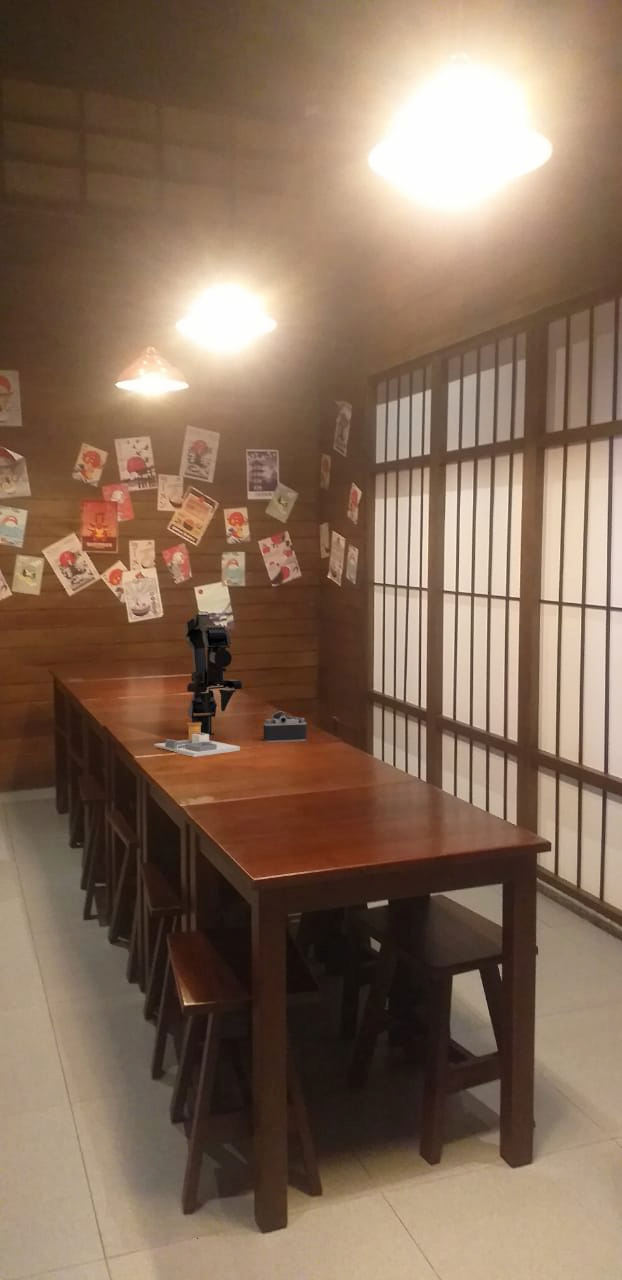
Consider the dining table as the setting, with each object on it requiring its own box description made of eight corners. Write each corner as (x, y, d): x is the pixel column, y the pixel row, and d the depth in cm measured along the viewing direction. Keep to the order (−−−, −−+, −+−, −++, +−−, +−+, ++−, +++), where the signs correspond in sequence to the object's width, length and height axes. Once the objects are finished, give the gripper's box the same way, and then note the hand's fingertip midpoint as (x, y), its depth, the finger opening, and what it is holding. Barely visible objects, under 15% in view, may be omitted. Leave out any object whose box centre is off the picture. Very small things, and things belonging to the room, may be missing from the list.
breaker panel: (199, 741, 330) (199, 731, 330) (239, 750, 314) (239, 739, 314) (154, 747, 318) (154, 736, 318) (194, 757, 302) (194, 745, 302)
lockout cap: (196, 739, 329) (196, 721, 328) (204, 740, 325) (204, 722, 325) (184, 740, 326) (184, 722, 325) (193, 742, 322) (193, 724, 322)
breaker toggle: (201, 741, 323) (201, 732, 322) (209, 743, 320) (209, 733, 319) (191, 743, 320) (191, 733, 320) (199, 744, 317) (199, 735, 317)
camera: (302, 737, 342) (302, 708, 341) (308, 741, 334) (308, 711, 333) (258, 738, 338) (258, 710, 337) (263, 742, 330) (263, 713, 329)
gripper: (222, 661, 334) (222, 707, 335) (177, 664, 322) (177, 712, 323) (243, 664, 326) (243, 710, 327) (197, 667, 314) (197, 715, 315)
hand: (215, 712), depth 323 cm, fingers open, 6 cm apart
